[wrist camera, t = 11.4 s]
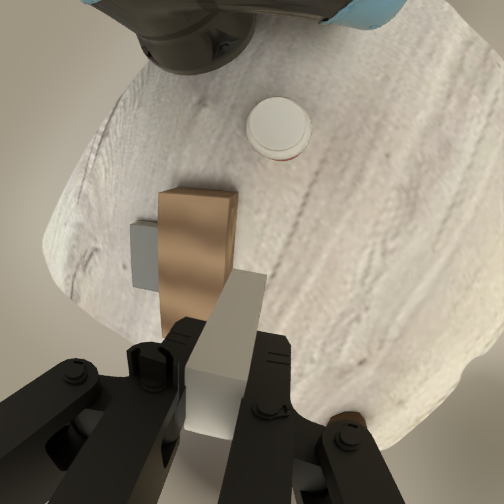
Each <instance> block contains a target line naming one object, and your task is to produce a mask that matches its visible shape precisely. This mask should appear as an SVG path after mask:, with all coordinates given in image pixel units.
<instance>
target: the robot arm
mask: <svg viewBox="0 0 504 504" xmlns="http://www.w3.org/2000/svg"><path fill="white" fill-rule="evenodd" d="M406 1H407V0H81V2H83V3H85V4H88V5H89V4H90V5H91V6H93V7H95V8H96V9H98V10H100V11H102V12H103V13H105V14H107V15H108V16H110V17H111V18H113V19H115V20H116V21H118V22H119V23H121V24H122V25H124V26H125V27H127V28H128V29H130V30H131V31H133V32H134V33H136V35H137V38H138V40H139V42H140V45H141V48H142V50H143V52H144V53H145V55H146V56H147V57H148V59H149V60H150V61H152V62H153V63H154V64H156V65H157V66H159V67H160V68H162V69H164V70H166V71H168V72H171V73H174V74H180V75H196V74H202V73H206V72H209V71H212V70H215V69H217V68H220V67H222V66H224V65H225V64H227V63H229V62H230V61H232V60H233V59H234V58H235V57H237V56H238V55H239V54H240V53H241V52H242V51H243V50H244V49H245V47H246V46H247V45H248V43H249V41H250V40H251V38H252V35H253V33H254V29H255V14H254V13H259V14H269V15H278V16H286V17H293V18H299V19H305V20H311V21H316V22H318V23H319V24H322V25H329V24H335V25H341V26H346V27H350V28H355V29H359V30H373V29H376V28H379V27H381V26H382V25H384V24H386V23H388V22H389V21H390V20H391V19H392V18H393V17H395V15H396V14H397V13H398V12H399V11H400V10H401V8H402V7H403V6H404V4H405V3H406ZM266 279H267V275H265V274H260V273H254V272H249V271H244V270H239V269H234V268H233V270H232V272H231V274H230V276H229V278H228V280H227V282H226V284H225V286H224V288H223V290H222V292H221V294H220V296H219V298H218V300H217V302H216V304H215V306H214V308H213V310H212V312H211V314H210V316H209V318H208V321H204V320H199V319H195V318H191V317H187V316H185V317H184V318H182V319H180V320H179V321H177V322H175V324H174V325H173V327H172V328H171V330H170V332H169V333H168V334H167V336H166V337H165V340H163V342H162V343H156V342H142V343H139V344H136V345H133V346H132V347H131V348H129V349H128V350H127V360H128V367H129V376H128V377H113V376H104V375H99V374H98V371H97V368H96V367H95V366H94V365H93V364H92V363H91V362H89V361H87V360H85V359H78V358H74V359H67V360H65V361H63V362H61V363H59V364H57V365H56V366H54V367H53V368H51V369H50V370H49V371H47V372H45V373H44V374H42V375H41V376H40V377H38V378H36V379H35V380H33V381H32V382H30V383H29V384H27V385H26V386H24V387H23V388H21V389H20V390H18V391H17V392H15V393H14V394H12V395H11V396H9V397H8V398H6V399H5V400H4V401H2V402H0V504H45V503H46V502H47V501H49V502H48V504H157V502H158V499H159V496H160V494H161V491H162V488H163V486H164V483H165V480H166V478H167V475H168V473H169V470H170V467H171V465H172V462H173V459H174V456H175V454H176V451H177V449H178V446H179V441H180V431H181V429H182V426H183V424H184V429H186V430H190V431H193V432H197V433H201V434H205V435H209V436H213V437H218V438H223V439H227V440H232V444H231V448H230V453H229V457H228V462H227V466H226V470H225V474H224V479H223V483H222V487H221V491H220V495H219V500H218V504H291V493H292V487H293V491H294V494H295V498H296V503H297V504H405V502H404V500H403V498H402V496H401V494H400V491H399V490H398V487H397V485H396V483H395V481H394V479H393V477H392V475H391V473H390V471H389V469H388V467H387V465H386V463H385V461H384V459H383V457H382V455H381V453H380V451H379V449H378V447H377V444H376V442H375V440H374V439H373V437H372V435H371V433H370V432H369V431H368V429H367V428H366V427H364V426H363V425H361V424H360V423H358V422H354V421H351V420H338V421H334V422H331V423H330V424H329V425H328V426H327V427H325V426H323V425H320V424H317V423H314V422H311V421H309V420H307V419H305V418H303V417H302V416H301V415H299V414H298V413H297V412H296V411H295V409H294V408H293V406H292V404H291V400H290V381H291V366H290V365H291V345H290V343H289V341H288V340H287V338H286V336H283V335H278V334H272V333H266V332H261V331H257V328H258V323H259V317H260V312H261V307H262V301H263V296H264V290H265V285H266Z"/></svg>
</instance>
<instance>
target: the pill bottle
mask: <svg viewBox="0 0 504 504" xmlns="http://www.w3.org/2000/svg"><path fill="white" fill-rule="evenodd" d="M246 134H247V137H248V140H249V142H250V144H251V145H252V146H253V148H254V149H255V150H256V151H257V152H259V153H260V154H261V155H263V156H265V157H267V158H269V159H273V160H276V161H288V160H291V159H293V158H295V157H297V156H298V155H299V154H300V153H301V152H302V151H303V150H304V149H305V147H306V146H307V144H308V143H309V140H310V138H311V134H312V124H311V119H310V117H309V115H308V113H307V111H306V110H305V109H304V108H303V107H302V106H301V105H300V104H299V103H297V102H296V101H294V100H292V99H289V98H285V97H271V98H268V99H265V100H263V101H261V102H259V103H258V104H257V105H256V106H255V107H254V108H253V109H252V110H251V112H250V113H249V115H248V118H247V121H246Z"/></svg>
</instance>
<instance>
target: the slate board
mask: <svg viewBox="0 0 504 504" xmlns="http://www.w3.org/2000/svg"><path fill="white" fill-rule="evenodd" d="M130 244H131V267H132V282H133V287H136V288H141V289H146V290H151V291H156V292H159V275H158V222H149V221H137V222H135V223H132V224H130Z"/></svg>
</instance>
